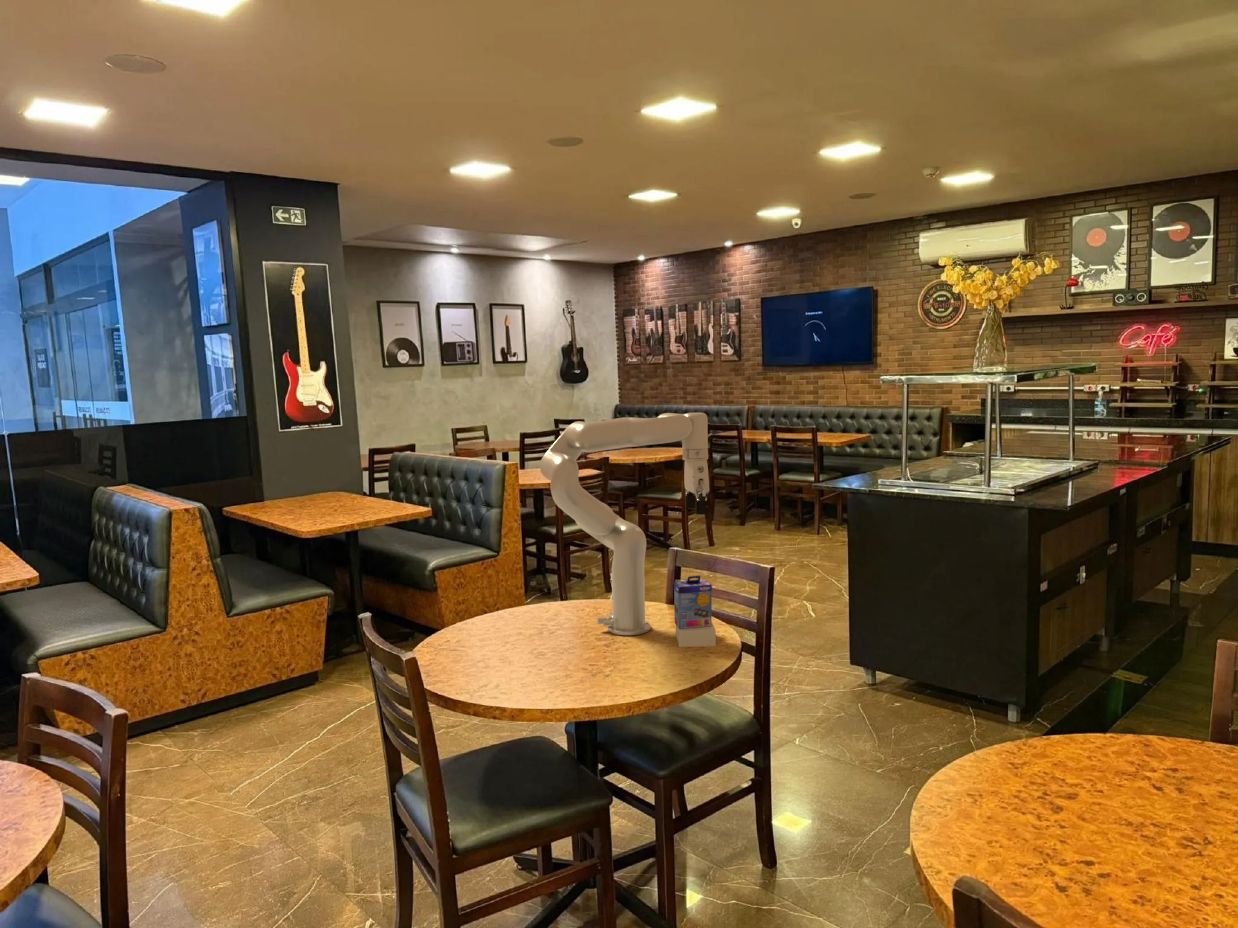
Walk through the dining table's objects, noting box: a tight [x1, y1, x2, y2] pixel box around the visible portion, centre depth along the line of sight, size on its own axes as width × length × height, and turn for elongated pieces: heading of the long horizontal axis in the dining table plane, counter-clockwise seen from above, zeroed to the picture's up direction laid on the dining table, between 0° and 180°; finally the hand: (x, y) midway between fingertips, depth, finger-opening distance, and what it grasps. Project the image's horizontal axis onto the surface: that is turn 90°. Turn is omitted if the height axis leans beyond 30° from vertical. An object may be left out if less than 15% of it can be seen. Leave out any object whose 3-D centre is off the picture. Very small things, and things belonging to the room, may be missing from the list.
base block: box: [675, 622, 717, 648], centre depth 237 cm, size 10×10×5 cm
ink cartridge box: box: [673, 575, 713, 629], centre depth 235 cm, size 10×6×14 cm, turn 103°
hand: (695, 511), depth 252 cm, fingers open, 9 cm apart
